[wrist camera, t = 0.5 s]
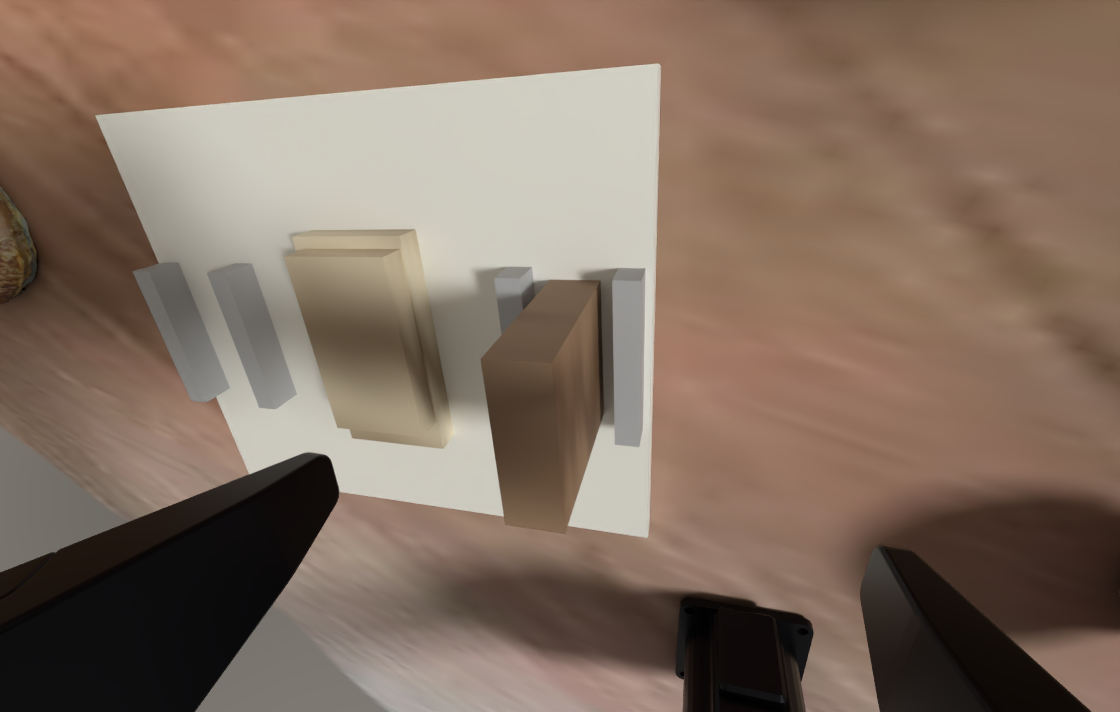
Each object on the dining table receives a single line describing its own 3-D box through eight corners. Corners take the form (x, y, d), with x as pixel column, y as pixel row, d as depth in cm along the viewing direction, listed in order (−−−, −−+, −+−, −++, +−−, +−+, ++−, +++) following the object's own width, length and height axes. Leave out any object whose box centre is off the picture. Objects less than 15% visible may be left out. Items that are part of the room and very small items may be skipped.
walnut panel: (604, 413, 21) (564, 534, 15) (559, 409, 22) (505, 524, 16) (600, 280, 19) (551, 363, 13) (550, 279, 19) (480, 358, 13)
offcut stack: (454, 434, 24) (431, 464, 22) (366, 424, 25) (336, 453, 23) (415, 229, 20) (381, 243, 18) (311, 230, 21) (269, 243, 19)
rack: (649, 522, 25) (644, 562, 23) (263, 468, 31) (231, 495, 29) (660, 65, 16) (654, 59, 14) (118, 114, 22) (55, 115, 20)
